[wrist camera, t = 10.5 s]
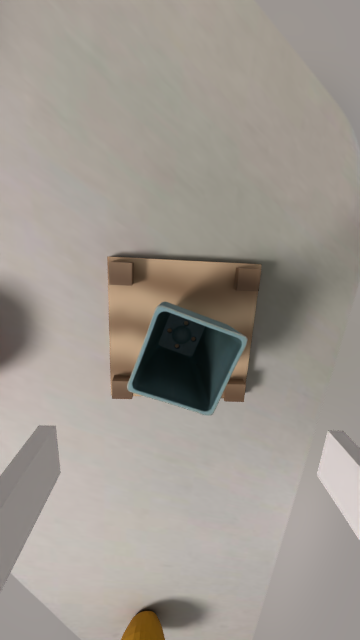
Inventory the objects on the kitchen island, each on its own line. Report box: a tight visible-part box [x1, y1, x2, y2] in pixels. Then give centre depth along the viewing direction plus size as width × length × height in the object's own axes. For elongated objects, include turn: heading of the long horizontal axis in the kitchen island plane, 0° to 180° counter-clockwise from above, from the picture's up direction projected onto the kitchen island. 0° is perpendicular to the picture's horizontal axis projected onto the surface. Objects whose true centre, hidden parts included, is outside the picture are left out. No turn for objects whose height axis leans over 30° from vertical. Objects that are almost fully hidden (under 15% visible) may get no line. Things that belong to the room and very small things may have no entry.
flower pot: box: [127, 302, 248, 415], centre depth 26 cm, size 9×9×9 cm
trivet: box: [107, 257, 261, 402], centre depth 31 cm, size 18×18×3 cm
